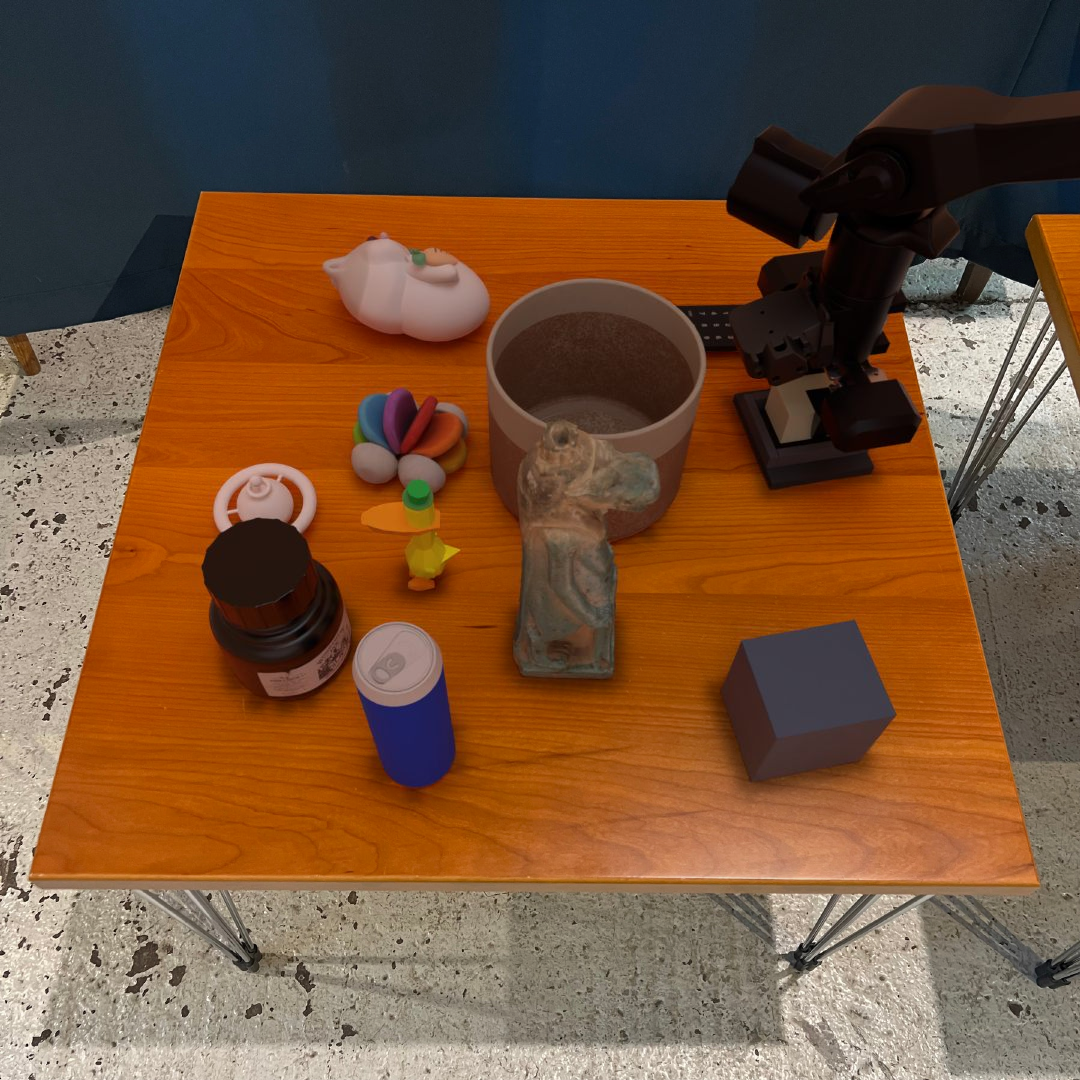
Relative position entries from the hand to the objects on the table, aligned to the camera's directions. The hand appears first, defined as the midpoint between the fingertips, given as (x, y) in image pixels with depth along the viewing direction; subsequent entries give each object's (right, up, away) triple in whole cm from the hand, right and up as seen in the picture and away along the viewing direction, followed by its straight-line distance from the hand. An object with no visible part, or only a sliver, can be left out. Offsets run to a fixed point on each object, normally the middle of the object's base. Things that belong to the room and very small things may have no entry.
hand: (807, 417), depth 82 cm
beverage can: (-31, -25, -14) cm, 42 cm away
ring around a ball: (-44, -9, -3) cm, 45 cm away
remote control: (-13, +8, +9) cm, 17 cm away
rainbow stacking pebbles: (-33, -3, 0) cm, 33 cm away
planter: (-19, -4, 0) cm, 19 cm away
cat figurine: (-34, +10, +9) cm, 37 cm away
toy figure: (-32, -13, -6) cm, 35 cm away
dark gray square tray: (0, -1, +2) cm, 2 cm away
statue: (-20, -18, -9) cm, 29 cm away
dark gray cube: (-5, -23, -13) cm, 27 cm away
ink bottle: (-41, -18, -10) cm, 46 cm away
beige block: (0, 0, 0) cm, 0 cm away
